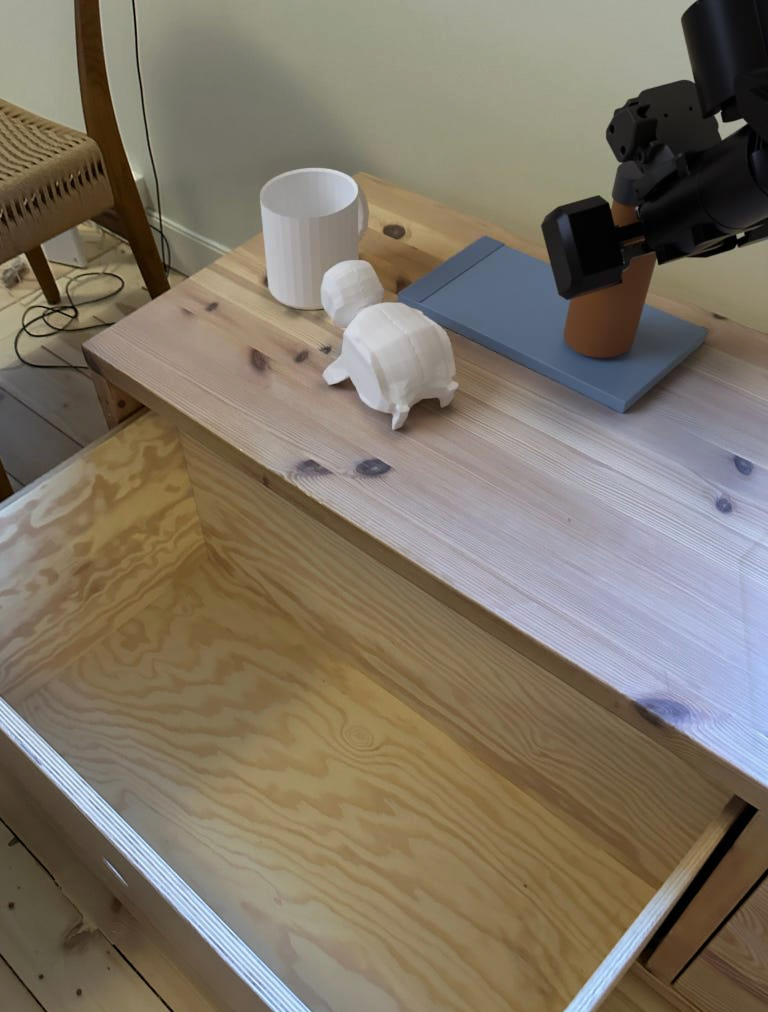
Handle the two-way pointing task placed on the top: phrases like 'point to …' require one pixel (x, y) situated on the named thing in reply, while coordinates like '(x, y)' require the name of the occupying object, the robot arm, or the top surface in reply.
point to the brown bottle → (613, 288)
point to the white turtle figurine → (385, 344)
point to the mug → (309, 231)
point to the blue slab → (544, 323)
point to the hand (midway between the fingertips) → (605, 259)
